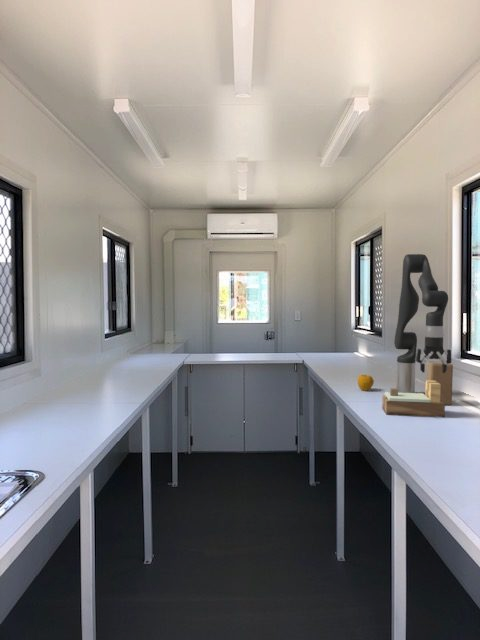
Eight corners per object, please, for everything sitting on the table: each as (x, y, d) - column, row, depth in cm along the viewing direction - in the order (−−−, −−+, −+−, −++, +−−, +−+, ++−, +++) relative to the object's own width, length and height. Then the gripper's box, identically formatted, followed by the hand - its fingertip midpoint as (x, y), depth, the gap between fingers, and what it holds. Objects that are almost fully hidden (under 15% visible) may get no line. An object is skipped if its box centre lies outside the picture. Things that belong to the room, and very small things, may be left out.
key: (425, 397, 204) (425, 380, 203) (434, 398, 203) (435, 380, 203) (430, 402, 195) (430, 383, 195) (440, 402, 194) (440, 384, 194)
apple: (375, 390, 250) (376, 374, 249) (369, 392, 243) (369, 376, 243) (361, 388, 255) (361, 372, 255) (354, 390, 249) (354, 374, 249)
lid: (384, 394, 208) (384, 385, 208) (423, 396, 206) (423, 387, 206) (389, 400, 196) (389, 391, 195) (430, 402, 193) (430, 392, 193)
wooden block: (452, 405, 214) (453, 364, 213) (429, 404, 216) (431, 363, 215) (446, 401, 224) (448, 361, 223) (425, 400, 226) (426, 360, 225)
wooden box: (382, 408, 208) (382, 395, 208) (436, 410, 205) (437, 397, 204) (386, 414, 197) (386, 401, 196) (444, 417, 193) (444, 403, 193)
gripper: (448, 335, 200) (447, 371, 201) (415, 335, 203) (414, 370, 203) (453, 336, 193) (452, 374, 194) (419, 336, 195) (418, 373, 196)
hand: (433, 372), depth 198 cm, fingers open, 8 cm apart
